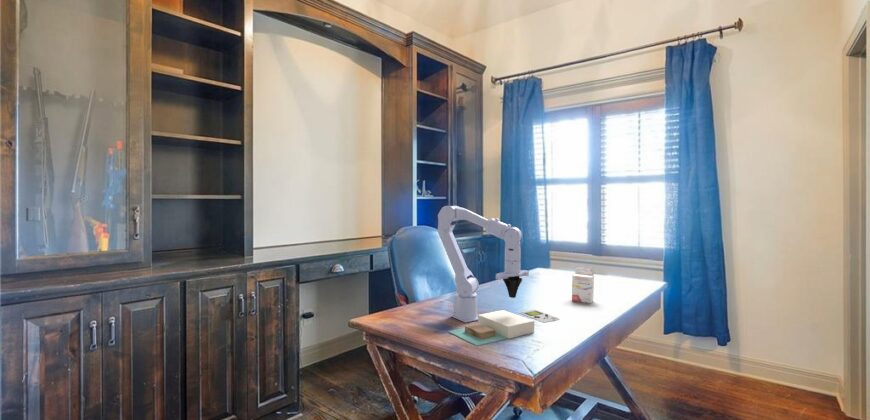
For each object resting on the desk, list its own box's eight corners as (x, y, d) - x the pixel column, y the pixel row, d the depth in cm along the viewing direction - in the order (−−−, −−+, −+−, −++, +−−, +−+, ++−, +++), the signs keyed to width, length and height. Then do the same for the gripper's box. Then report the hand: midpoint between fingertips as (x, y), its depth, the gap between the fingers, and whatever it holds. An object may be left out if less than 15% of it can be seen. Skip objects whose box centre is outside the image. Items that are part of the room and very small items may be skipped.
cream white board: (478, 325, 149) (478, 314, 149) (503, 320, 156) (503, 309, 156) (508, 338, 136) (508, 326, 136) (534, 332, 142) (534, 320, 142)
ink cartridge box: (571, 300, 185) (571, 268, 185) (574, 298, 190) (574, 266, 189) (591, 303, 181) (591, 270, 180) (593, 301, 185) (594, 268, 185)
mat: (448, 332, 143) (448, 331, 142) (478, 325, 149) (478, 324, 149) (477, 346, 129) (477, 345, 129) (508, 338, 136) (508, 337, 136)
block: (478, 323, 145) (478, 328, 145) (464, 326, 142) (464, 331, 142) (495, 330, 137) (495, 336, 137) (481, 333, 134) (481, 339, 134)
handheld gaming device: (543, 321, 153) (517, 311, 166) (543, 323, 153) (517, 313, 166) (561, 318, 157) (534, 308, 171) (561, 320, 157) (534, 310, 171)
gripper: (505, 263, 144) (504, 302, 144) (534, 260, 151) (534, 296, 152) (491, 260, 150) (491, 298, 150) (521, 257, 157) (520, 293, 158)
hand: (512, 297), depth 151 cm, fingers closed
